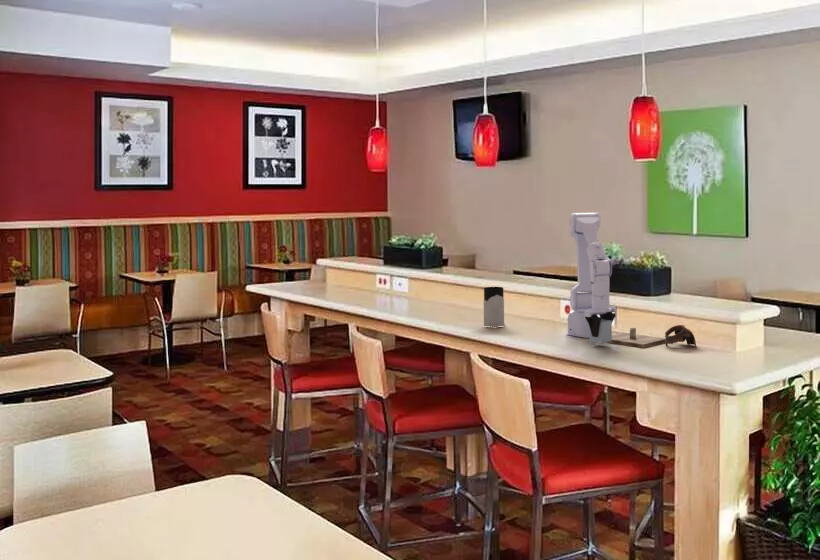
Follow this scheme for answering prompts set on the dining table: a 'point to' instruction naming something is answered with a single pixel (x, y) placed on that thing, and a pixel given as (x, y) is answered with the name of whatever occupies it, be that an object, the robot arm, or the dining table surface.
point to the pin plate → (635, 339)
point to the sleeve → (603, 332)
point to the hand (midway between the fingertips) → (600, 335)
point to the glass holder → (493, 306)
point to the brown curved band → (679, 335)
